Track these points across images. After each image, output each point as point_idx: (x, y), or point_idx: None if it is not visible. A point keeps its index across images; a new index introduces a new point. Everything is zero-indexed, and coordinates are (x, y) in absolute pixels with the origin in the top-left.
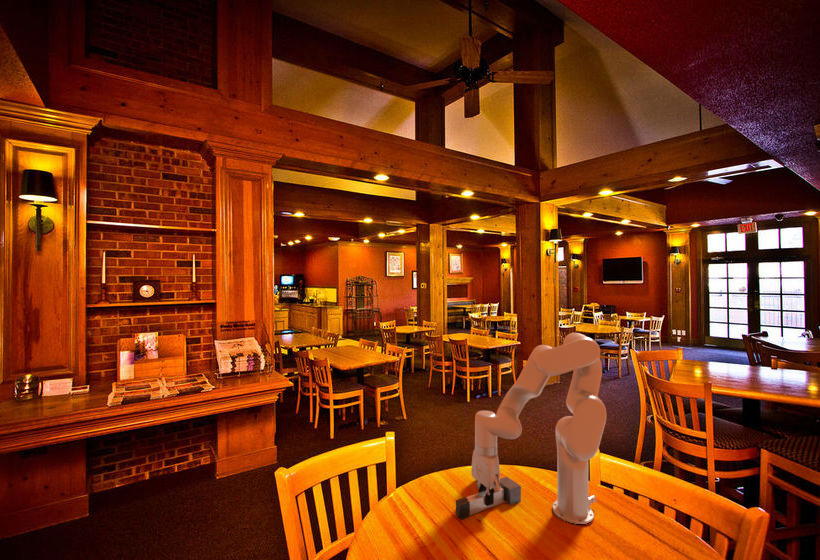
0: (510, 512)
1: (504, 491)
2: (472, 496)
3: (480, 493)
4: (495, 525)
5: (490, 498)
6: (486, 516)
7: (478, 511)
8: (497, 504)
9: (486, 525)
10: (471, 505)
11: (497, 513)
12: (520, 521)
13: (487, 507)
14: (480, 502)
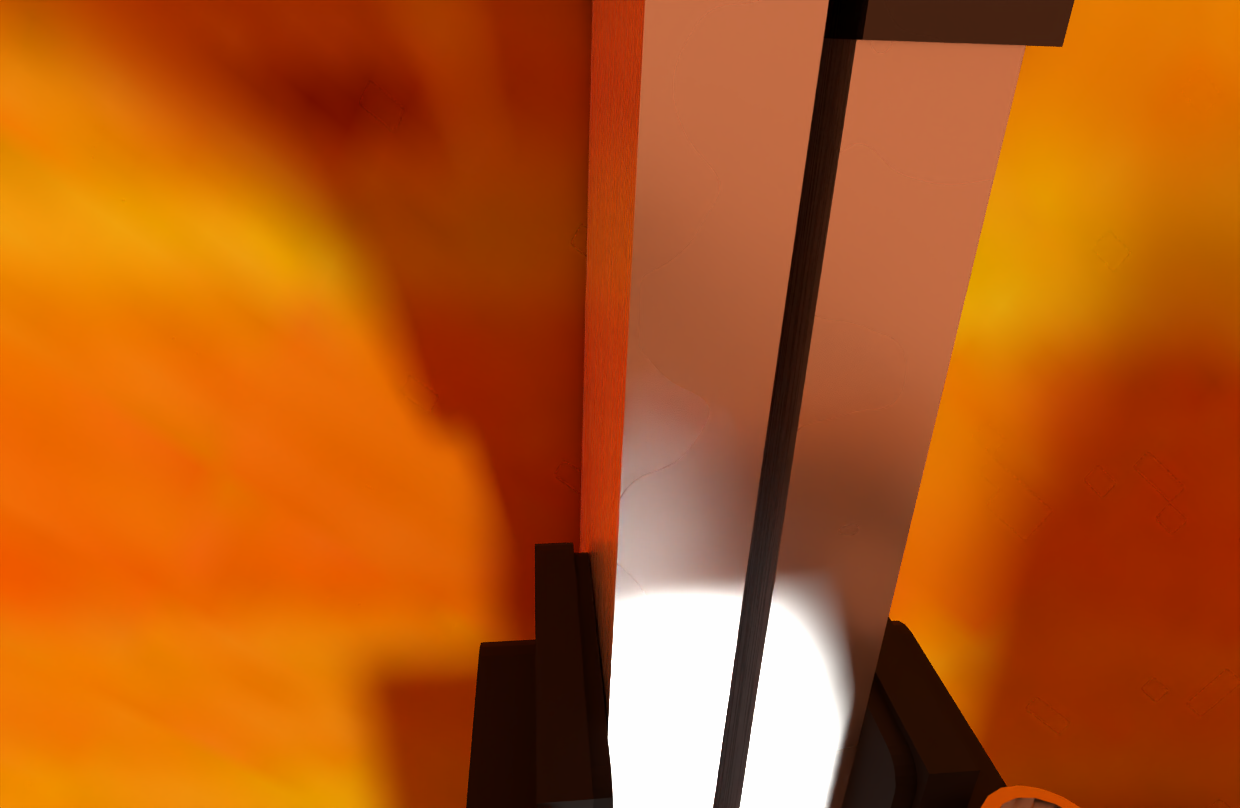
0: (310, 779)
1: None
2: (867, 360)
3: (812, 681)
4: (13, 336)
5: (469, 771)
6: (395, 366)
7: (588, 302)
8: None
9: (75, 141)
10: (621, 79)
11: (383, 601)
12: (11, 778)
13: (580, 546)
14: (603, 464)
